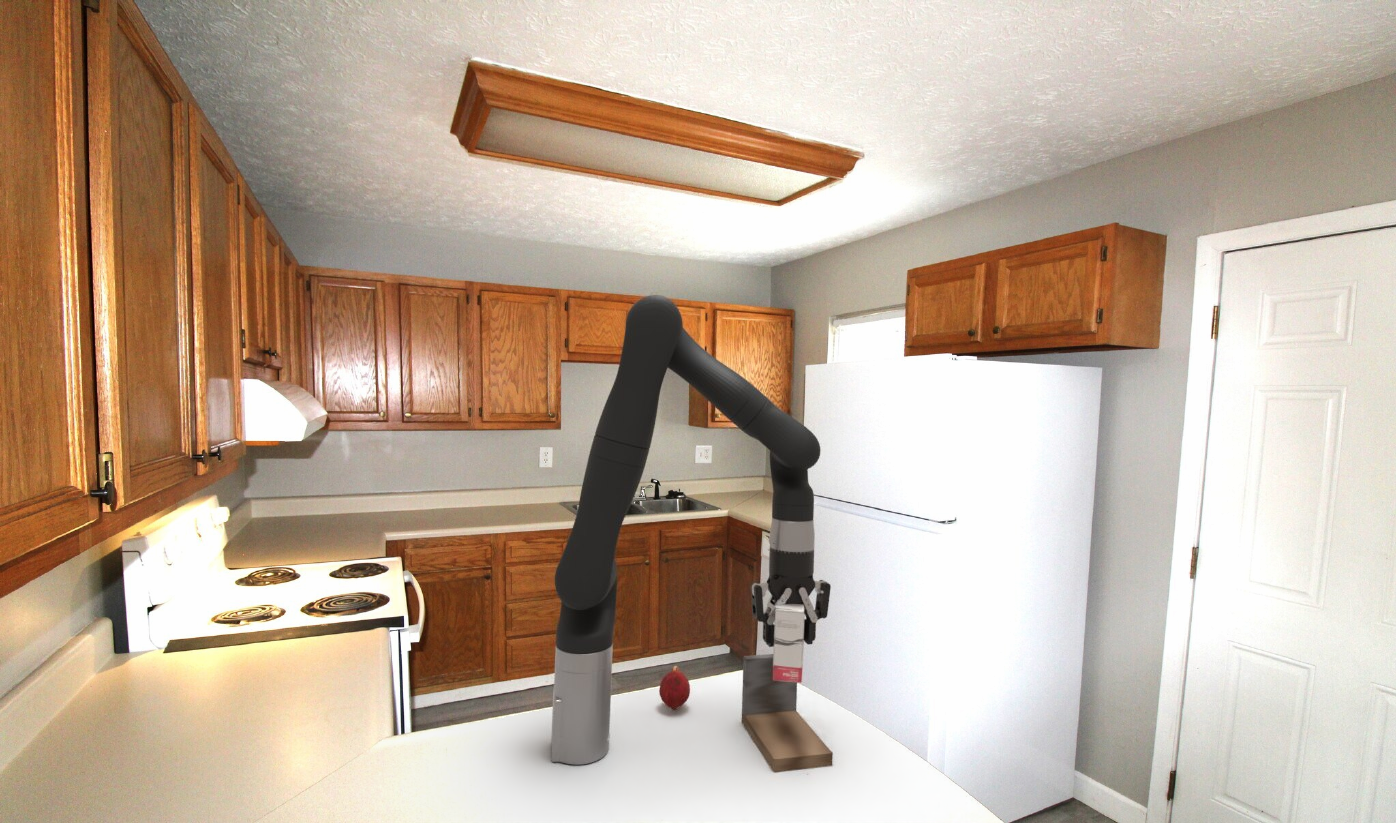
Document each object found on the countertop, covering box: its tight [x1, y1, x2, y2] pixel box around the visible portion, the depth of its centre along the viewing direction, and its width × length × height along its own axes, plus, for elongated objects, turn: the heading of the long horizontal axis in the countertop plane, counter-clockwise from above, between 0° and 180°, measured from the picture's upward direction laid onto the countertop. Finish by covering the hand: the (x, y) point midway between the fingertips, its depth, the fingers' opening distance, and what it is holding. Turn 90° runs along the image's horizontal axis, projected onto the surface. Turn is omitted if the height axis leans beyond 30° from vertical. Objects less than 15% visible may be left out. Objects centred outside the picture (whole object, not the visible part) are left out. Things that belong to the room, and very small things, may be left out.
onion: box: [658, 665, 691, 711], centre depth 115 cm, size 6×6×8 cm
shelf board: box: [740, 653, 834, 773], centre depth 104 cm, size 10×16×12 cm, turn 14°
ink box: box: [772, 602, 805, 684], centre depth 103 cm, size 9×5×12 cm, turn 170°
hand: (789, 643), depth 103 cm, fingers closed on ink box, 6 cm apart
